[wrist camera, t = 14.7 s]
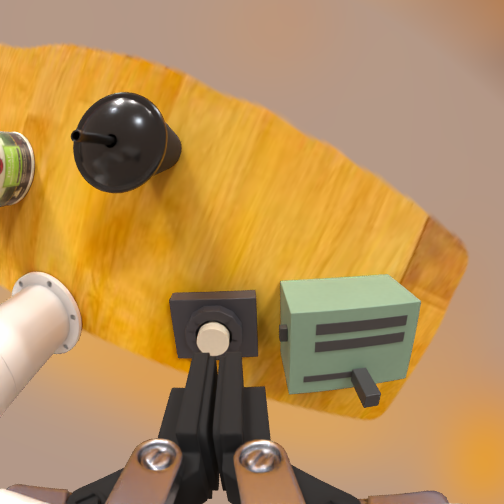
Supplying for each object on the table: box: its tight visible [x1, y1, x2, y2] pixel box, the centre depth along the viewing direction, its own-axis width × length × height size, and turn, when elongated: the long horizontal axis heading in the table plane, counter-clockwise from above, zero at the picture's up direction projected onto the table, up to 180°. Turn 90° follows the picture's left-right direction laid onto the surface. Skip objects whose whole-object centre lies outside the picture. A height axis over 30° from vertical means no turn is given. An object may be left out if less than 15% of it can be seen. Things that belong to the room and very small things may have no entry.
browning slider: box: [351, 368, 381, 408], centre depth 30 cm, size 2×2×5 cm
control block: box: [169, 290, 258, 360], centre depth 38 cm, size 10×8×4 cm
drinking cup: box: [71, 92, 181, 193], centre depth 25 cm, size 8×8×20 cm
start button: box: [197, 322, 230, 356], centre depth 35 cm, size 4×4×2 cm
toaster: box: [279, 274, 421, 394], centre depth 36 cm, size 15×10×9 cm
